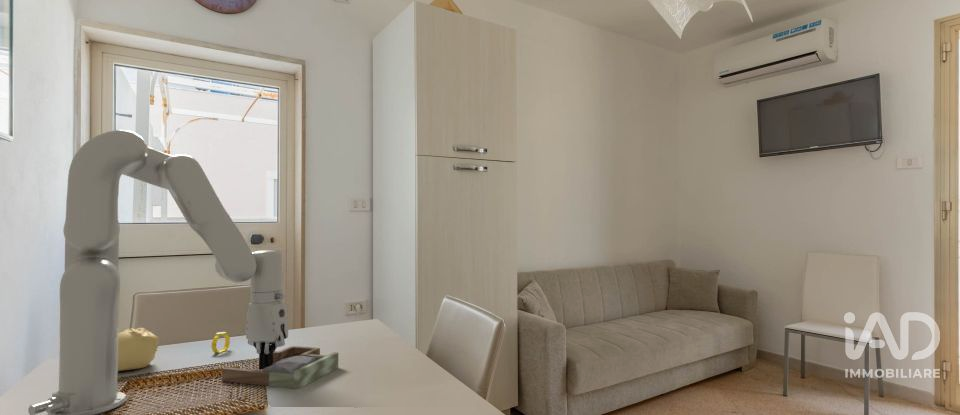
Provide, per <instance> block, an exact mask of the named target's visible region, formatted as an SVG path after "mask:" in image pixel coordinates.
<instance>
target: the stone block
mask: <svg viewBox="0 0 960 415" xmlns="http://www.w3.org/2000/svg"><path fill="white" fill-rule="evenodd" d="M312 362H315V357H306V356H293V357H289V358H285V359H282V360H280V361H278V362H276V363H273V365H271V366H269V367H266V368H264V369H262V371H272V372H283V373H294V371H295V370H297V369H300V368H302V367H304V366H306V365H308V364H310V363H312Z"/></svg>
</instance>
